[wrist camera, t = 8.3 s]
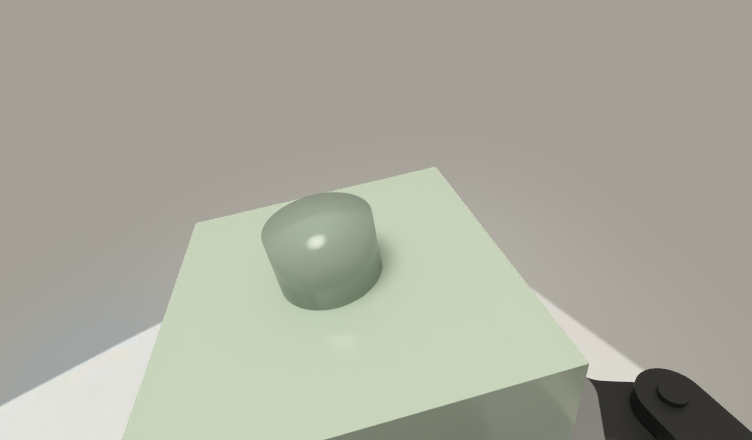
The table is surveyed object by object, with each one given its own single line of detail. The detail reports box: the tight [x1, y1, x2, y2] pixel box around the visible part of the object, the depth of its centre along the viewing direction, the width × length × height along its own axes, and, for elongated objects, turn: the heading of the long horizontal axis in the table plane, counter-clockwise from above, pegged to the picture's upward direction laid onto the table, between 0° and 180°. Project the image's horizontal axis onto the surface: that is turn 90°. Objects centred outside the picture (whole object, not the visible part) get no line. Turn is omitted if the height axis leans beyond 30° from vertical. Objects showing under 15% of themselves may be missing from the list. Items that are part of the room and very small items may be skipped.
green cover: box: [122, 167, 589, 440], centre depth 10 cm, size 6×6×11 cm
